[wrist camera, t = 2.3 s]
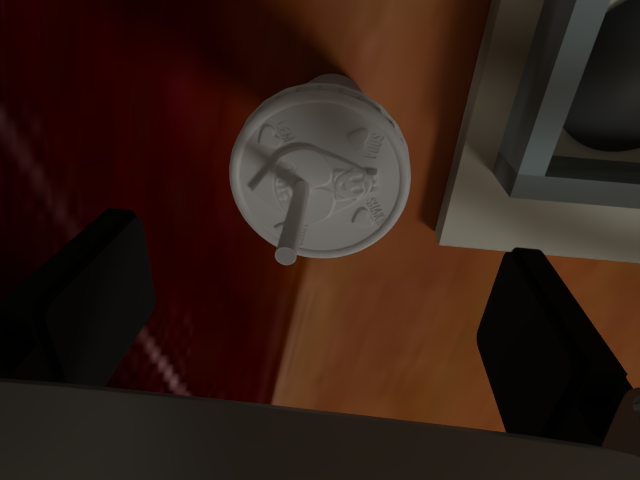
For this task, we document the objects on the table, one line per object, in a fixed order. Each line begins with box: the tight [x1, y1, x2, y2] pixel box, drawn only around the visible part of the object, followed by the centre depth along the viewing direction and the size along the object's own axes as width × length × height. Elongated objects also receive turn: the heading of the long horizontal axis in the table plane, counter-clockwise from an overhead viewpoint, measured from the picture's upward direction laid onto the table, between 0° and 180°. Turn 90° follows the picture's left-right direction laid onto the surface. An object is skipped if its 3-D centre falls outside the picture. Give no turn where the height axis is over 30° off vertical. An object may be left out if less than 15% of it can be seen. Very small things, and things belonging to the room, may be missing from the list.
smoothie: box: [229, 74, 411, 265], centre depth 17 cm, size 6×6×14 cm
